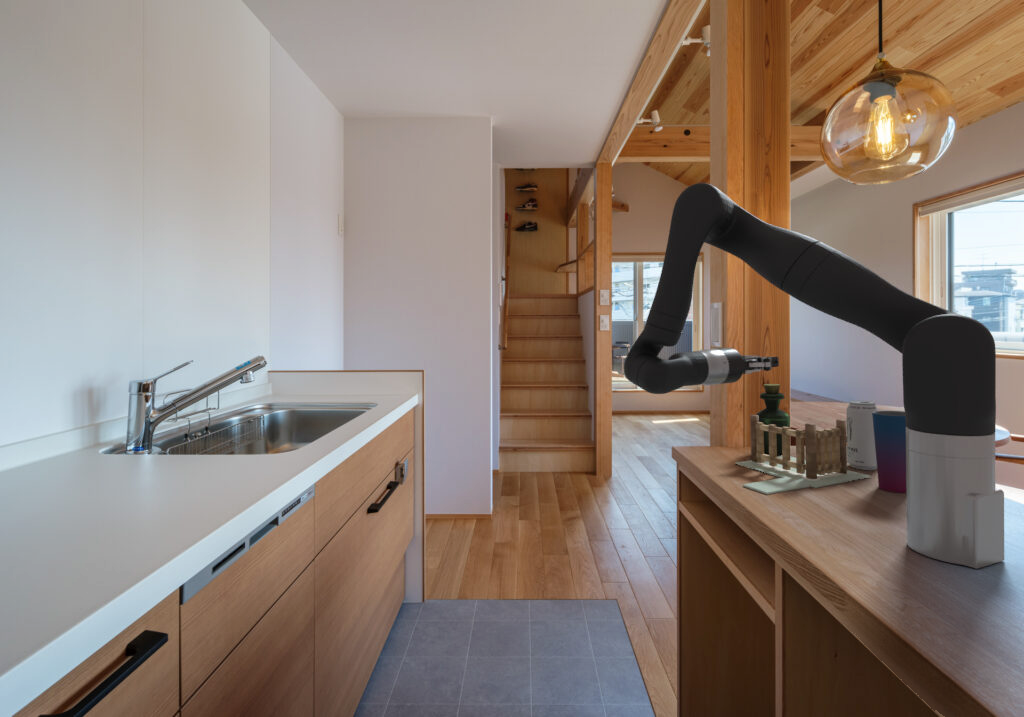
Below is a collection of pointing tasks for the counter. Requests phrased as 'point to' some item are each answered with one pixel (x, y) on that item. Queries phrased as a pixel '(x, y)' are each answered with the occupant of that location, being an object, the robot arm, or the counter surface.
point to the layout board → (794, 478)
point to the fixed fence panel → (825, 449)
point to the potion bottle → (773, 415)
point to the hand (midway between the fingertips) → (775, 361)
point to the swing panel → (786, 432)
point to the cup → (890, 449)
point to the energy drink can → (861, 435)
